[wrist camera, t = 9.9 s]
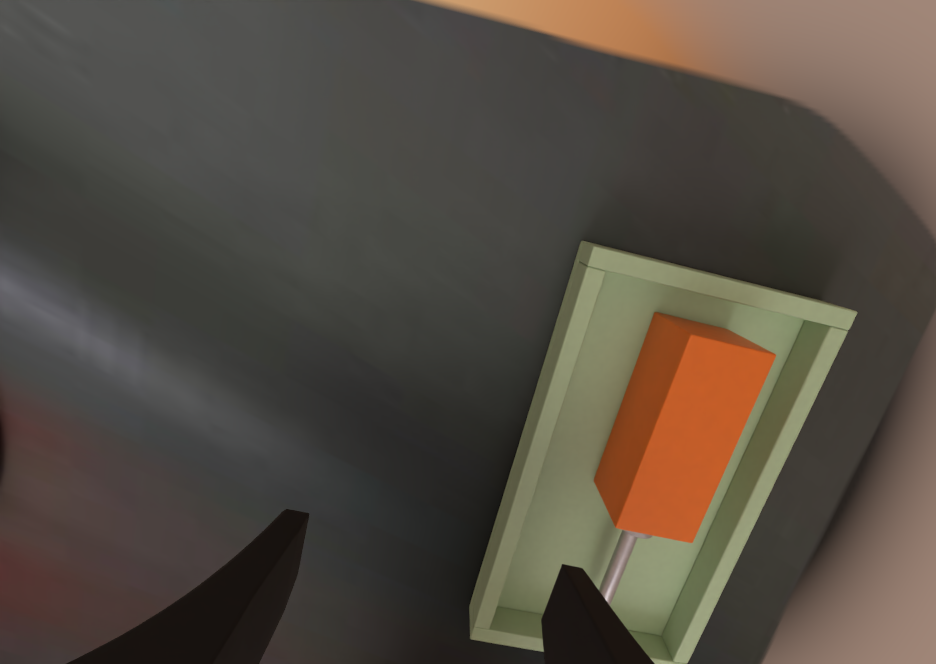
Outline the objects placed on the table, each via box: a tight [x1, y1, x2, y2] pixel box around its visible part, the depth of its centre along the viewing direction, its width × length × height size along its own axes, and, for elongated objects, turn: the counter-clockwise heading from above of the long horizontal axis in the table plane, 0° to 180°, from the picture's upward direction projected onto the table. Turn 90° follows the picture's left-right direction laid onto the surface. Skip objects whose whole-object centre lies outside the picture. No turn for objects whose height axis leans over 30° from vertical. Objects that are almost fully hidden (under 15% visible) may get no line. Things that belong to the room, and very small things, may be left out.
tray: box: [469, 241, 857, 664], centre depth 22 cm, size 20×11×2 cm, turn 166°
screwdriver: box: [594, 312, 776, 605], centre depth 21 cm, size 15×3×3 cm, turn 166°
